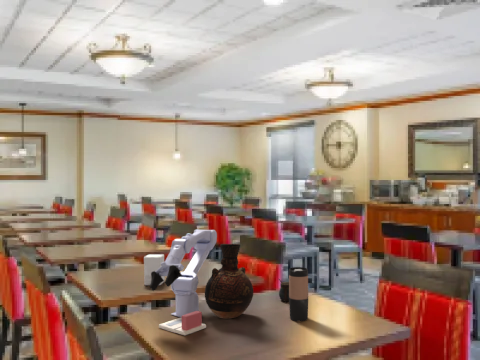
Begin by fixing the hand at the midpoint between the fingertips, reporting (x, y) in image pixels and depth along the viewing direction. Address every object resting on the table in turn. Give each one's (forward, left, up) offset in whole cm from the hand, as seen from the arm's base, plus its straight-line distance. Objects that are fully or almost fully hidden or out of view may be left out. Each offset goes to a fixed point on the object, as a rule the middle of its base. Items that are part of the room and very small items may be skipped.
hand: (159, 286), depth 173 cm
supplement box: (-48, -61, -17) cm, 79 cm away
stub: (-8, +8, -16) cm, 20 cm away
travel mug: (-45, +32, -17) cm, 58 cm away
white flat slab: (-8, +1, -17) cm, 18 cm away
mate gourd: (-64, +13, -17) cm, 67 cm away
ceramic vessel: (-30, +8, -17) cm, 35 cm away
